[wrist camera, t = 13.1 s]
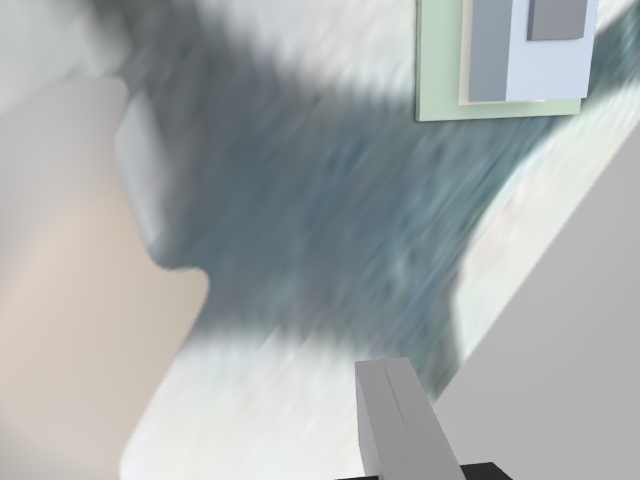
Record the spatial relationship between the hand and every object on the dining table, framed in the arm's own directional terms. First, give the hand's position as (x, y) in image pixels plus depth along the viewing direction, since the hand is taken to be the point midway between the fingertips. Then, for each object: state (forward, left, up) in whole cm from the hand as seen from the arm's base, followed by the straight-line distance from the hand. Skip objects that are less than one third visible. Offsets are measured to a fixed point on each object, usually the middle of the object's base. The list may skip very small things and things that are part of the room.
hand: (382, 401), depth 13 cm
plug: (-12, +13, -23) cm, 29 cm away
